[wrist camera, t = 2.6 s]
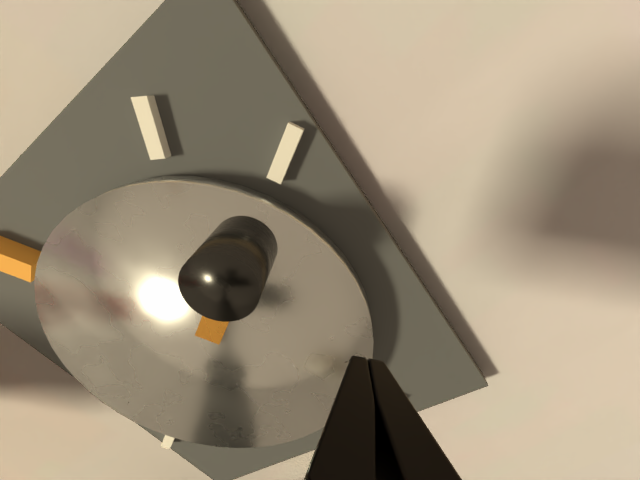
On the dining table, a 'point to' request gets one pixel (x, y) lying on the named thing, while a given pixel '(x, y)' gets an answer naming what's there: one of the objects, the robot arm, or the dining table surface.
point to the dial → (203, 310)
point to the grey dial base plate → (228, 165)
